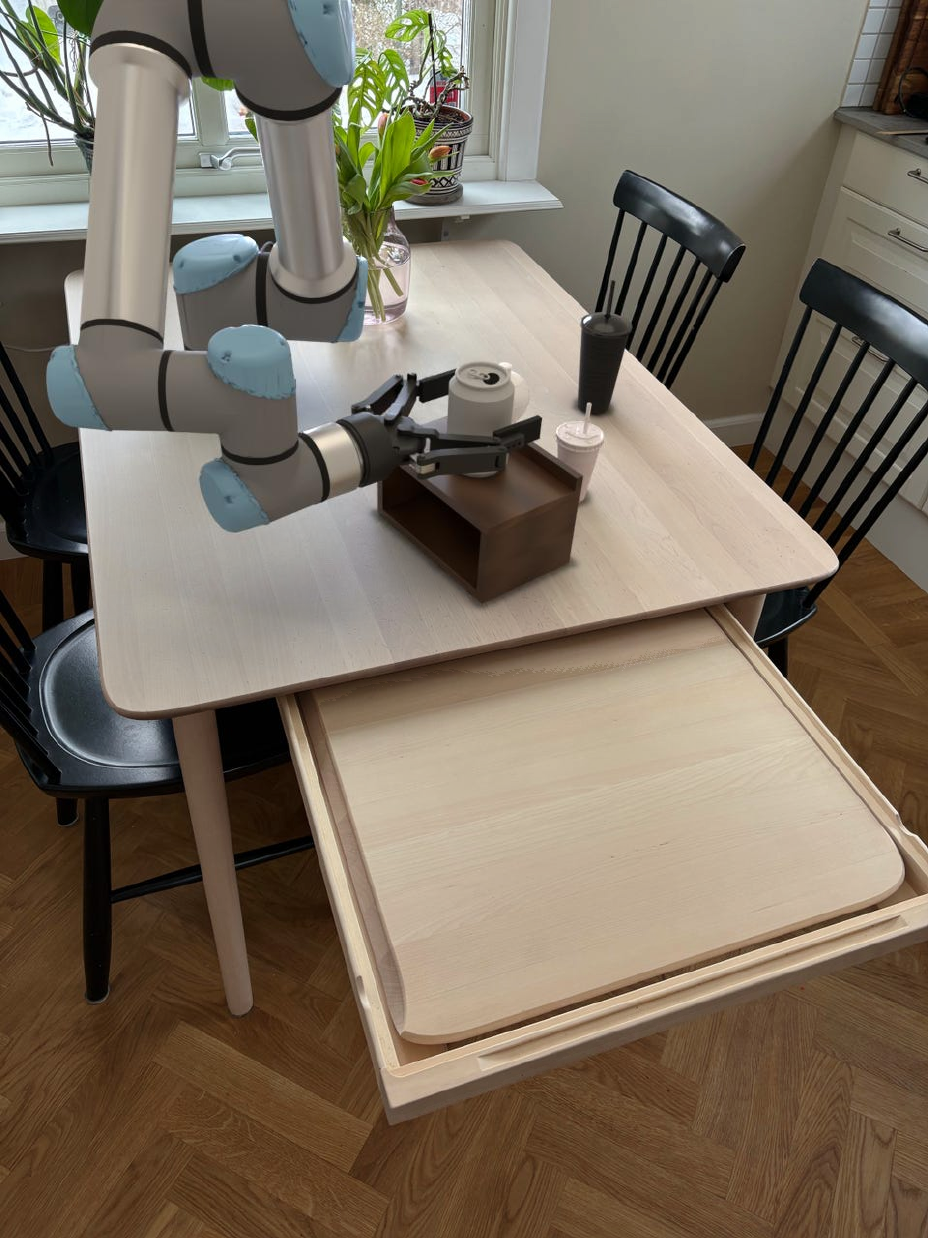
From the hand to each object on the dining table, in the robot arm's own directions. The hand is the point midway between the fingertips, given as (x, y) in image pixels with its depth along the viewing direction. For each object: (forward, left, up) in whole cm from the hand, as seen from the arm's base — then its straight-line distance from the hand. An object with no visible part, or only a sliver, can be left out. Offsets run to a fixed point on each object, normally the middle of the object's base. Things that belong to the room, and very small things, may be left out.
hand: (500, 401), depth 112 cm
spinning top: (-21, -5, -19) cm, 29 cm away
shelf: (+3, -2, -18) cm, 19 cm away
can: (+3, -2, -8) cm, 8 cm away
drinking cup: (-36, +6, -19) cm, 41 cm away
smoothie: (-11, +8, -19) cm, 23 cm away
